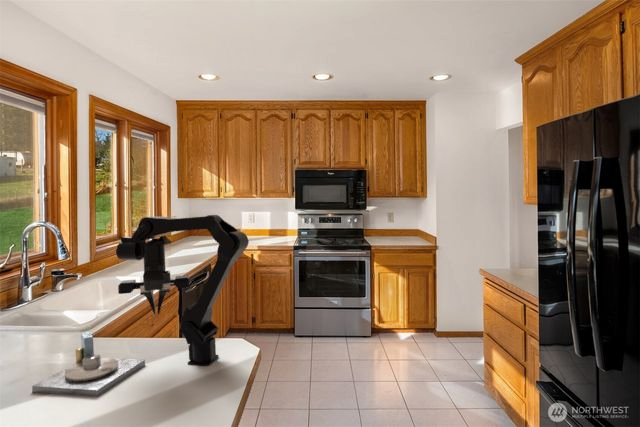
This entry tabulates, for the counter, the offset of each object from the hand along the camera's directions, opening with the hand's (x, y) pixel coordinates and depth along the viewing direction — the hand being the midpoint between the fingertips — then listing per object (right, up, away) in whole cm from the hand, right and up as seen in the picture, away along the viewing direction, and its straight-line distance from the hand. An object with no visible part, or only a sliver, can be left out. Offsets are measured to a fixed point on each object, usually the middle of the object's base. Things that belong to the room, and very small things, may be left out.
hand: (156, 313), depth 115 cm
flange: (-13, -12, -11) cm, 20 cm away
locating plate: (-12, -14, -11) cm, 22 cm away
